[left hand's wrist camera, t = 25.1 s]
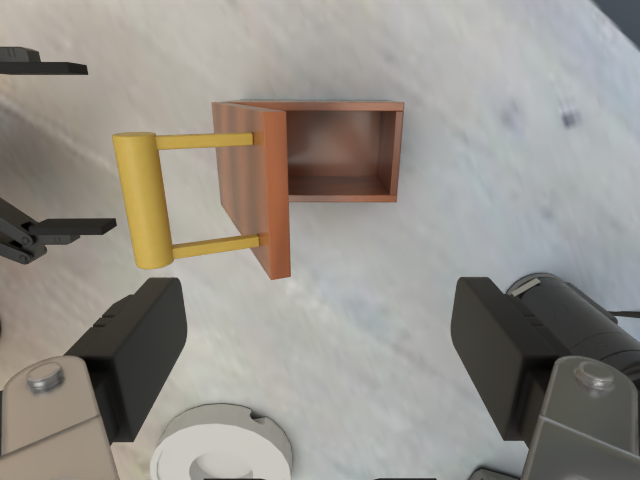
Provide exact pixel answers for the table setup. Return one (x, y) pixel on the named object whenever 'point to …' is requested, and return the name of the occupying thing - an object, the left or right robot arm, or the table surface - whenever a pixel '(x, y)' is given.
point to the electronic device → (489, 476)
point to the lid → (234, 182)
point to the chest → (341, 148)
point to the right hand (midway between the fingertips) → (95, 152)
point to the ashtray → (221, 446)
